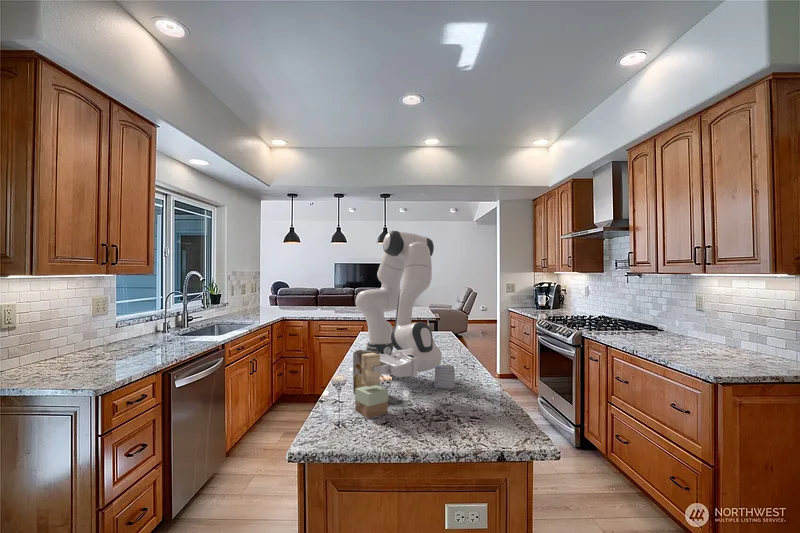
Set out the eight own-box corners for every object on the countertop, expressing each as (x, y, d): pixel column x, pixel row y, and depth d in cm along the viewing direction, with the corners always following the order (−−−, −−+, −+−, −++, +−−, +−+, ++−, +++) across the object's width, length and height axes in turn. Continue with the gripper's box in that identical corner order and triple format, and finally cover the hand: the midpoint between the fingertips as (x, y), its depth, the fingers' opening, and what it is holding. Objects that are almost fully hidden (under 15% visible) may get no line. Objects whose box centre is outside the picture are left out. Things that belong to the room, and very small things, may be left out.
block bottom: (355, 411, 137) (355, 399, 137) (375, 406, 142) (375, 395, 142) (366, 418, 131) (366, 406, 131) (387, 413, 135) (387, 401, 135)
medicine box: (454, 386, 166) (454, 365, 166) (454, 389, 161) (454, 367, 161) (435, 385, 167) (435, 364, 167) (434, 388, 162) (434, 367, 162)
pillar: (361, 383, 137) (361, 354, 137) (372, 381, 139) (373, 352, 139) (368, 386, 133) (368, 356, 133) (379, 384, 135) (379, 355, 135)
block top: (355, 400, 137) (355, 388, 137) (374, 395, 142) (374, 384, 142) (368, 406, 131) (368, 394, 131) (388, 401, 136) (388, 389, 136)
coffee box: (380, 391, 159) (380, 350, 159) (374, 396, 152) (374, 354, 152) (358, 389, 161) (358, 349, 161) (352, 394, 155) (352, 352, 155)
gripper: (386, 348, 152) (354, 353, 144) (419, 358, 135) (385, 364, 127) (386, 365, 152) (354, 370, 144) (419, 377, 135) (385, 384, 127)
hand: (369, 367), depth 136 cm, fingers closed on pillar, 4 cm apart
